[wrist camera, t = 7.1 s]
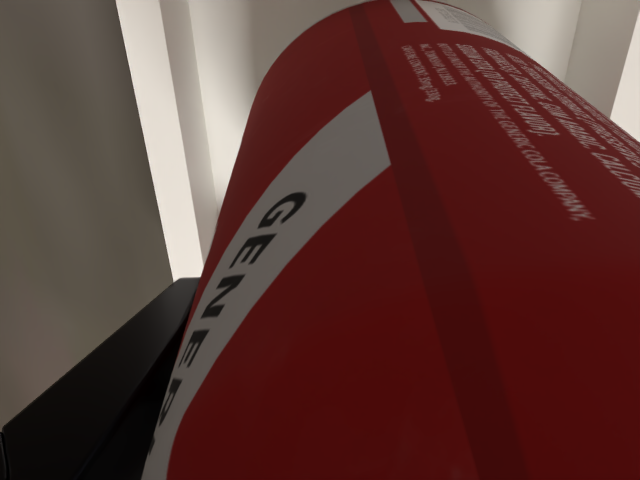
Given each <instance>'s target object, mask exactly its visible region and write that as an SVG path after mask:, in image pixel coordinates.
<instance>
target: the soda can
mask: <svg viewBox="0 0 640 480" xmlns="http://www.w3.org/2000/svg"><path fill="white" fill-rule="evenodd" d="M140 480H640V142H639V141H637V140H636V139H635V138H634V137H632V136H631V135H630V134H628V133H627V132H626V131H625V130H623V129H622V128H621V127H619V126H618V125H617V124H616V123H614V122H613V121H612V120H610V119H609V118H608V117H607V116H605V115H604V114H603V113H601V112H600V111H599V110H598V109H596V108H595V107H594V106H593V105H591V104H590V103H589V102H587V101H586V100H585V99H584V98H582V97H581V96H580V95H578V94H577V93H576V92H575V91H573V90H572V89H571V88H569V87H568V86H567V85H566V84H564V83H563V82H562V81H560V80H559V79H558V78H557V77H555V76H554V75H553V74H551V73H550V72H549V71H548V70H546V69H545V68H544V67H543V66H541V65H540V64H539V63H537V62H536V61H535V60H534V59H532V58H531V57H530V56H528V55H527V54H526V53H525V52H523V51H522V50H521V49H519V48H518V47H517V46H516V45H514V44H513V43H512V42H510V41H509V40H508V39H507V38H505V37H504V36H503V35H502V34H500V33H499V32H498V31H496V30H495V29H494V28H493V27H491V26H490V25H489V24H487V23H486V22H484V21H483V20H481V19H480V18H478V17H477V16H475V15H473V14H471V13H469V12H467V11H465V10H463V9H461V8H459V7H456V6H453V5H450V4H448V3H445V2H441V1H436V0H368V1H363V2H360V3H357V4H353V5H350V6H347V7H345V8H342V9H340V10H338V11H335V12H333V13H331V14H329V15H327V16H326V17H324V18H322V19H320V20H318V21H317V22H315V23H314V24H313V25H311V26H310V27H308V28H307V29H305V30H304V31H303V32H302V33H300V34H299V35H298V36H297V37H296V38H295V39H293V40H292V41H291V42H290V43H289V44H288V46H287V47H286V48H285V49H284V50H283V51H282V52H281V53H280V54H279V56H278V57H277V58H276V59H275V61H274V62H273V63H272V65H271V66H270V68H269V70H268V71H267V73H266V74H265V76H264V78H263V80H262V82H261V84H260V86H259V88H258V90H257V93H256V95H255V98H254V101H253V103H252V106H251V110H250V113H249V116H248V120H247V123H246V127H245V130H244V133H243V137H242V140H241V143H240V147H239V150H238V153H237V157H236V160H235V163H234V167H233V170H232V174H231V177H230V180H229V184H228V187H227V190H226V194H225V197H224V200H223V204H222V207H221V210H220V214H219V217H218V220H217V224H216V227H215V231H214V234H213V237H212V241H211V244H210V247H209V251H208V254H207V257H206V261H205V264H204V267H203V271H202V274H201V277H200V281H199V284H198V288H197V291H196V294H195V298H194V301H193V304H192V308H191V311H190V314H189V318H188V321H187V324H186V328H185V331H184V334H183V338H182V341H181V345H180V348H179V351H178V355H177V358H176V361H175V365H174V368H173V371H172V375H171V378H170V381H169V385H168V388H167V392H166V395H165V398H164V402H163V405H162V408H161V412H160V415H159V418H158V422H157V425H156V428H155V432H154V435H153V438H152V442H151V445H150V449H149V452H148V455H147V459H146V462H145V465H144V469H143V472H142V475H141V479H140Z"/></svg>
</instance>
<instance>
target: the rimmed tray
mask: <svg viewBox="0 0 640 480" xmlns="http://www.w3.org/2000/svg"><path fill="white" fill-rule="evenodd" d="M363 1H368V0H116V4H117V9H118V14H119V19H120V24H121V28H122V33H123V38H124V43H125V48H126V53H127V58H128V62H129V67H130V72H131V77H132V82H133V87H134V91H135V96H136V101H137V106H138V111H139V116H140V120H141V125H142V130H143V135H144V140H145V145H146V149H147V154H148V159H149V164H150V169H151V174H152V178H153V183H154V188H155V193H156V198H157V203H158V208H159V212H160V217H161V222H162V227H163V232H164V237H165V241H166V246H167V251H168V256H169V261H170V266H171V270H172V275H173V280H174V282H175V281H176V280H178V279H179V278H183V277H201V274H202V271H203V267H204V264H205V261H206V257H207V254H208V251H209V247H210V244H211V241H212V237H213V234H214V231H215V227H216V224H217V220H218V217H219V214H220V210H221V207H222V204H223V200H224V197H225V194H226V190H227V187H228V184H229V180H230V177H231V174H232V170H233V167H234V163H235V160H236V157H237V153H238V150H239V147H240V143H241V140H242V137H243V133H244V130H245V127H246V123H247V120H248V116H249V113H250V110H251V106H252V103H253V101H254V98H255V95H256V93H257V90H258V88H259V86H260V84H261V82H262V80H263V78H264V76H265V74H266V73H267V71H268V70H269V68H270V66H271V65H272V63H273V62H274V61H275V59H276V58H277V57H278V56H279V54H280V53H281V52H282V51H283V50H284V49H285V48H286V47H287V46H288V44H289V43H290V42H291V41H292V40H293V39H295V38H296V37H297V36H298V35H299V34H300V33H302V32H303V31H304V30H305V29H307V28H308V27H310V26H311V25H313V24H314V23H315V22H317V21H318V20H320V19H322V18H324V17H326V16H327V15H329V14H331V13H333V12H335V11H338V10H340V9H342V8H345V7H347V6H350V5H353V4H357V3H360V2H363ZM436 1H441V2H445V3H448V4H450V5H453V6H456V7H459V8H461V9H463V10H465V11H467V12H469V13H471V14H473V15H475V16H477V17H478V18H480V19H481V20H483V21H484V22H486V23H487V24H489V25H490V26H491V27H493V28H494V29H495V30H496V31H498V32H499V33H500V34H502V35H503V36H504V37H505V38H507V39H508V40H509V41H510V42H512V43H513V44H514V45H516V46H517V47H518V48H519V49H521V50H522V51H523V52H525V53H526V54H527V55H528V56H530V57H531V58H532V59H534V60H535V61H536V62H537V63H539V64H540V65H541V66H543V67H544V68H545V69H546V70H548V71H549V72H550V73H551V74H553V75H554V76H555V77H557V78H558V79H559V80H560V81H562V82H563V83H564V84H566V85H567V86H568V87H569V88H571V89H572V90H573V91H575V92H576V93H577V94H578V95H580V96H581V97H582V98H584V99H585V100H586V101H587V102H589V103H590V104H591V105H593V106H594V107H595V108H596V109H598V110H599V111H600V112H601V113H603V114H604V115H605V116H607V117H608V118H609V119H610V120H612V121H613V122H614V123H616V124H617V125H618V126H619V127H621V128H622V129H623V130H625V131H626V132H627V133H628V134H630V135H631V136H632V137H634V138H635V139H636V140H637V141H639V142H640V0H436Z"/></svg>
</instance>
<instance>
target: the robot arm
mask: <svg viewBox="0 0 640 480" xmlns="http://www.w3.org/2000/svg"><path fill="white" fill-rule="evenodd" d="M199 281H200V277H183V278H179V279H178V280H176V281H175V282H174V283H173V284H171V285H170V286H169V287H168V288H167V289H165V290H164V291H163V292H162V293H161V294H159V295H158V296H157V297H156V298H155V299H154V300H152V301H151V302H150V303H149V304H148V305H146V306H145V307H144V308H143V309H142V310H141V311H139V312H138V313H137V314H136V315H135V316H133V317H132V318H131V319H130V320H129V321H127V322H126V323H125V324H124V325H123V326H122V327H120V328H119V329H118V330H117V331H116V332H114V333H113V334H112V335H111V336H110V337H109V338H107V339H106V340H105V341H104V342H103V343H101V344H100V345H99V346H98V347H97V348H96V349H94V350H93V351H92V352H91V353H90V354H88V355H87V356H86V357H85V358H84V359H82V360H81V361H80V362H79V363H78V364H77V365H75V366H74V367H73V368H72V369H71V370H69V371H68V372H67V373H66V374H65V375H64V376H62V377H61V378H60V379H59V380H58V381H56V382H55V383H54V384H53V385H52V386H51V387H49V388H48V389H47V390H46V391H45V392H43V393H42V394H41V395H40V396H39V397H37V398H36V399H35V400H34V401H33V402H32V403H30V404H29V405H28V406H27V407H26V408H24V409H23V410H22V411H21V412H20V413H19V414H17V415H16V416H15V417H14V418H13V419H11V420H10V421H9V422H8V423H7V424H5V425H4V426H3V428H2V432H0V480H140V479H141V475H142V472H143V469H144V465H145V462H146V459H147V455H148V452H149V449H150V445H151V442H152V438H153V435H154V432H155V428H156V425H157V422H158V418H159V415H160V412H161V408H162V405H163V402H164V398H165V395H166V392H167V388H168V385H169V381H170V378H171V375H172V371H173V368H174V365H175V361H176V358H177V355H178V351H179V348H180V345H181V341H182V338H183V334H184V331H185V328H186V324H187V321H188V318H189V314H190V311H191V308H192V304H193V301H194V298H195V294H196V291H197V288H198V284H199Z"/></svg>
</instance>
